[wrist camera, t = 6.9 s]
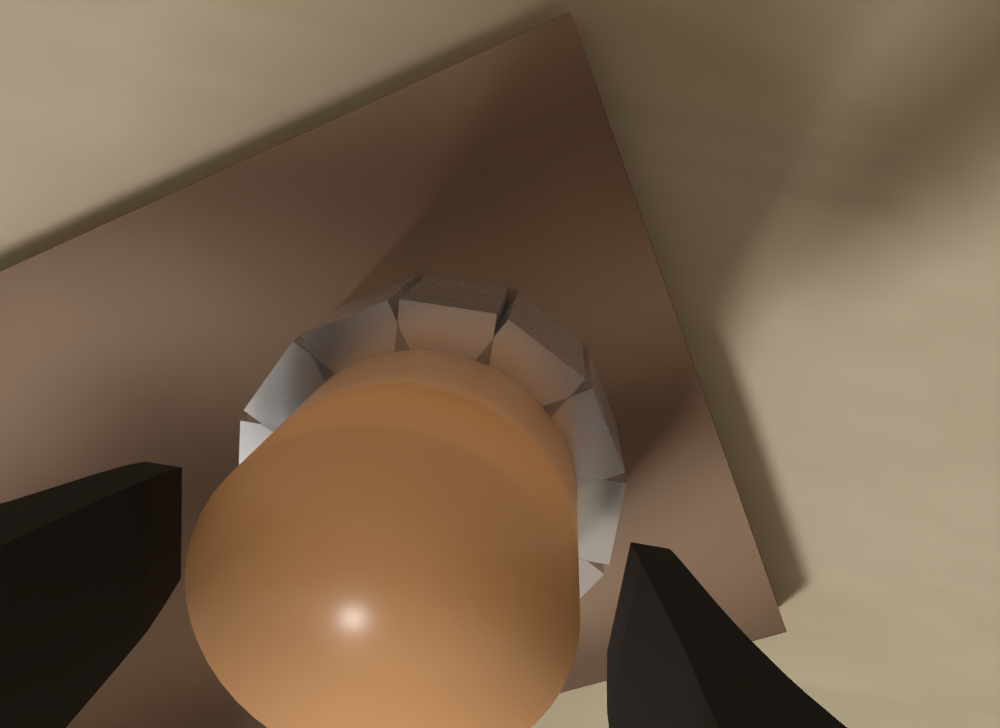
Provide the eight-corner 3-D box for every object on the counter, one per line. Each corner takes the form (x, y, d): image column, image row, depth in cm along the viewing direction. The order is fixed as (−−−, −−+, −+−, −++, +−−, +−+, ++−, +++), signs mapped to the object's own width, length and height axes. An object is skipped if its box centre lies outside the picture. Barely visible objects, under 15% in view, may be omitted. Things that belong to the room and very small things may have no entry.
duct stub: (658, 531, 16) (673, 597, 14) (369, 619, 17) (338, 693, 15) (540, 225, 14) (534, 241, 12) (231, 349, 16) (171, 385, 13)
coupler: (596, 341, 15) (615, 464, 9) (552, 575, 17) (545, 802, 11) (330, 299, 15) (187, 392, 9) (313, 534, 17) (182, 735, 11)
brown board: (776, 610, 17) (787, 632, 17) (92, 799, 21) (74, 823, 20) (569, 19, 14) (569, 12, 13) (-199, 367, 18) (-233, 377, 17)
